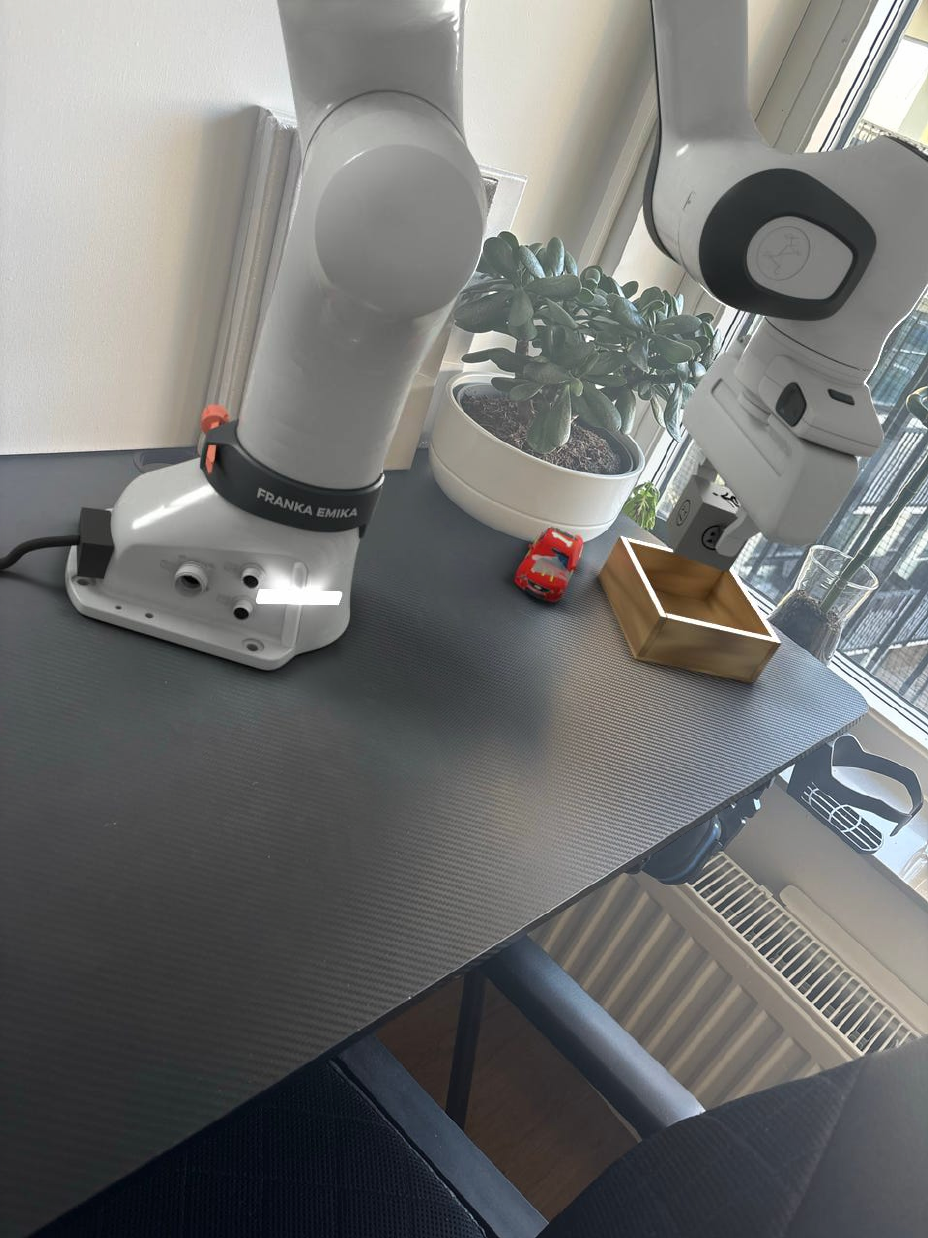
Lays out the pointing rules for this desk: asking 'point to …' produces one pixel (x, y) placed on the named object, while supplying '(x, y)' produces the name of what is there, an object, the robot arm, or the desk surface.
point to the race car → (549, 564)
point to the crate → (686, 612)
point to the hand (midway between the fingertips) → (707, 528)
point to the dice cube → (702, 522)
